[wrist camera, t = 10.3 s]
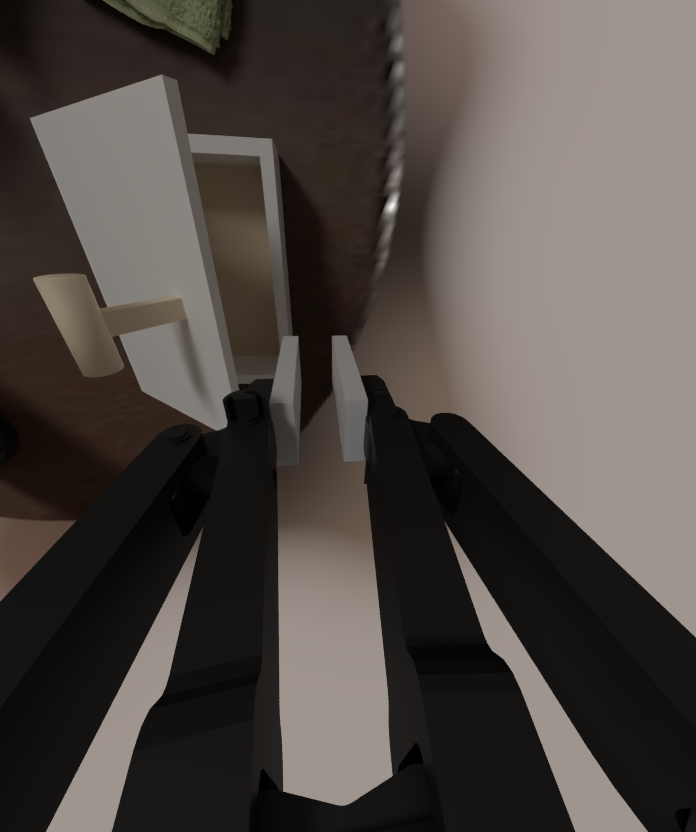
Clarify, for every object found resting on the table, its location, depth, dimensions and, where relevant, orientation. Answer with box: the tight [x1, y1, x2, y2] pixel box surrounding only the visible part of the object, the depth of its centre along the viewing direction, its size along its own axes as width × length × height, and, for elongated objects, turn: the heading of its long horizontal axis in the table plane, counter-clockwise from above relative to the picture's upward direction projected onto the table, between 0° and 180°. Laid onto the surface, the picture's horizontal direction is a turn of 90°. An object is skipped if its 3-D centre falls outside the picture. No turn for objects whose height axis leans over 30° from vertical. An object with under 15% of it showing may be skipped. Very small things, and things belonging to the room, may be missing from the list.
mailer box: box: [188, 134, 293, 384], centre depth 35 cm, size 18×24×8 cm
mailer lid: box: [30, 75, 239, 431], centre depth 23 cm, size 18×24×9 cm
